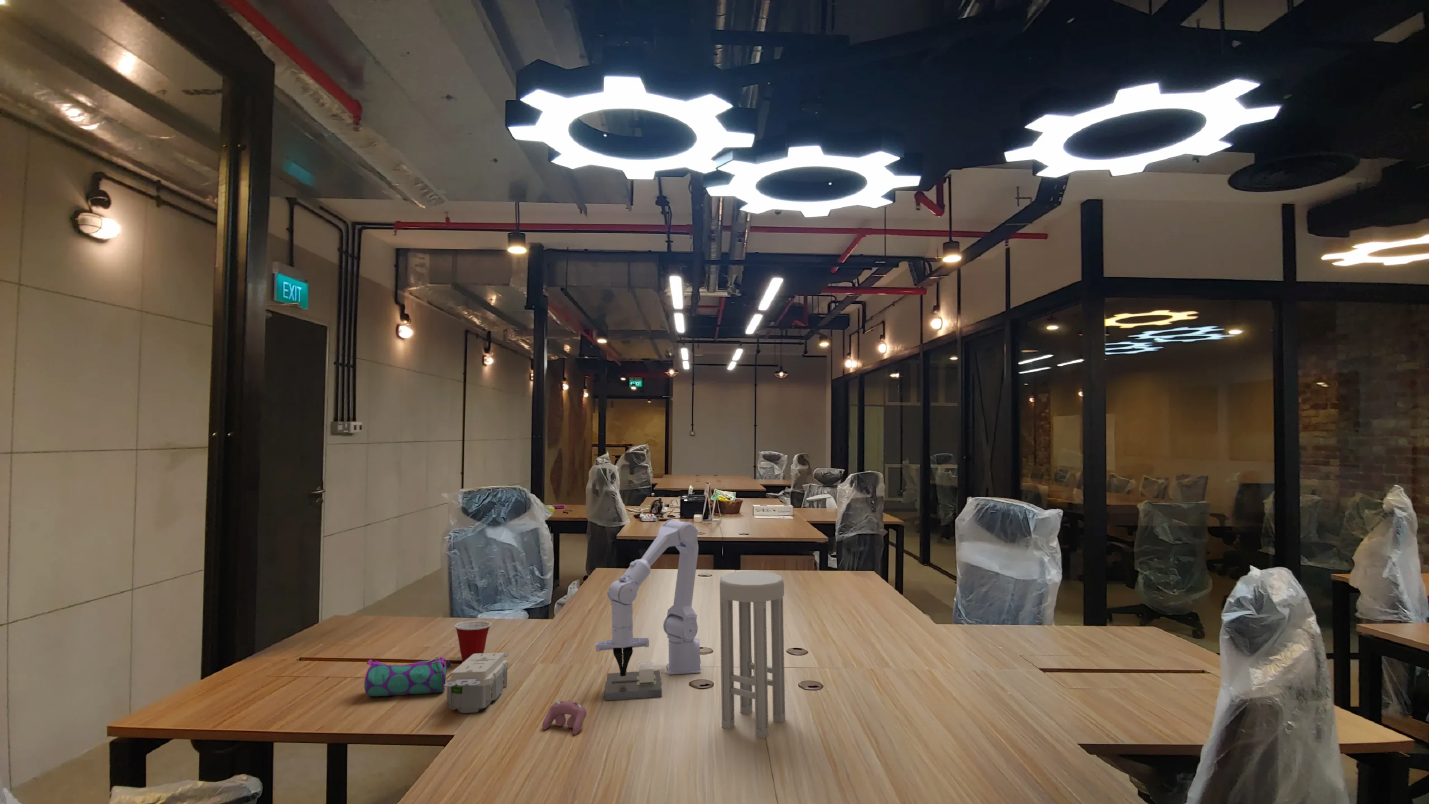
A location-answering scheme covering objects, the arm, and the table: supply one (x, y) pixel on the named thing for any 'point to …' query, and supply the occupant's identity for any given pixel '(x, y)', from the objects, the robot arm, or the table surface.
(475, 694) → the electrical outlet
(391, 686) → the pencil case
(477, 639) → the plastic cup
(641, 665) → the lever
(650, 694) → the breaker panel
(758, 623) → the stool
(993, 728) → the table surface
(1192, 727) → the table surface
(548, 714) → the video game controller
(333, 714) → the table surface
